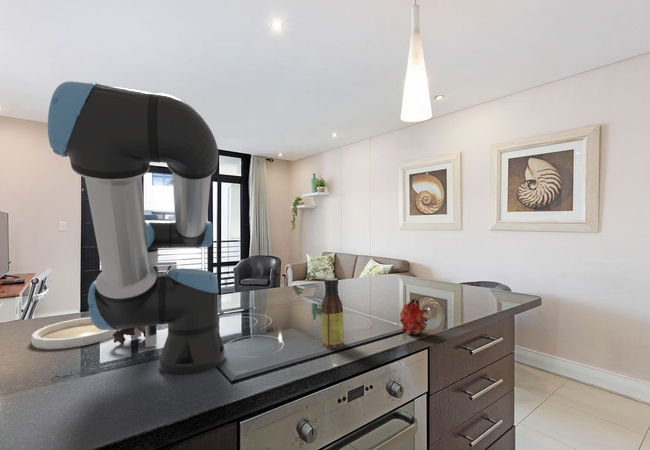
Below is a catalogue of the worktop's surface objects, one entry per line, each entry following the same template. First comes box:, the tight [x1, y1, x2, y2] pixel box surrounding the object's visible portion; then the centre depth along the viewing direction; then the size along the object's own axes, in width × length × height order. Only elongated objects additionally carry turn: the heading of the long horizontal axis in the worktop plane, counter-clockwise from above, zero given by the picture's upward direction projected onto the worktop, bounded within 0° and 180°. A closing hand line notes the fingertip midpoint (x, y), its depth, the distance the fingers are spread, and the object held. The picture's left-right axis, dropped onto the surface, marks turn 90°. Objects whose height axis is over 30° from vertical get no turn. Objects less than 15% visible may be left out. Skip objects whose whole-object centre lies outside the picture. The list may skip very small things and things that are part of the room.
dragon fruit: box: [399, 298, 429, 336], centre depth 101 cm, size 8×8×12 cm
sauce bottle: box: [321, 277, 345, 349], centre depth 91 cm, size 6×6×20 cm
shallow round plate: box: [31, 316, 122, 350], centre depth 99 cm, size 22×22×3 cm
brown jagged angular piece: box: [113, 326, 146, 347], centre depth 93 cm, size 12×9×8 cm
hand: (143, 341), depth 93 cm, fingers closed on brown jagged angular piece, 9 cm apart
